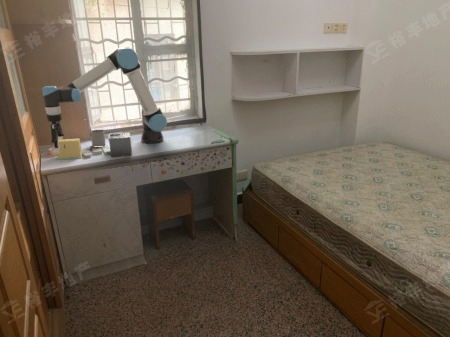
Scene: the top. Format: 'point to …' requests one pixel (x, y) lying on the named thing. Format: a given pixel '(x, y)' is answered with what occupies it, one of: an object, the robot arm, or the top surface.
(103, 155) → the top surface
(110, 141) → the dispenser
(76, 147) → the yellow rectangular block
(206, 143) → the top surface
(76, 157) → the pad
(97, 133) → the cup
